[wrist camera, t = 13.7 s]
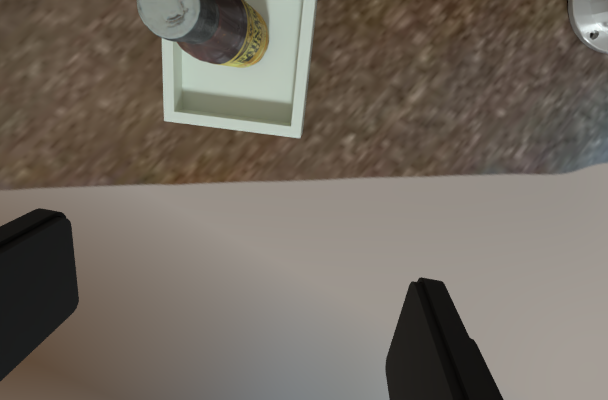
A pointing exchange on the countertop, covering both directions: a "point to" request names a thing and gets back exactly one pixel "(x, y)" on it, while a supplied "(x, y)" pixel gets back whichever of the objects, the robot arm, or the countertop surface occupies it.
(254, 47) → the sauce bottle
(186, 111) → the tray
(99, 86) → the countertop surface
